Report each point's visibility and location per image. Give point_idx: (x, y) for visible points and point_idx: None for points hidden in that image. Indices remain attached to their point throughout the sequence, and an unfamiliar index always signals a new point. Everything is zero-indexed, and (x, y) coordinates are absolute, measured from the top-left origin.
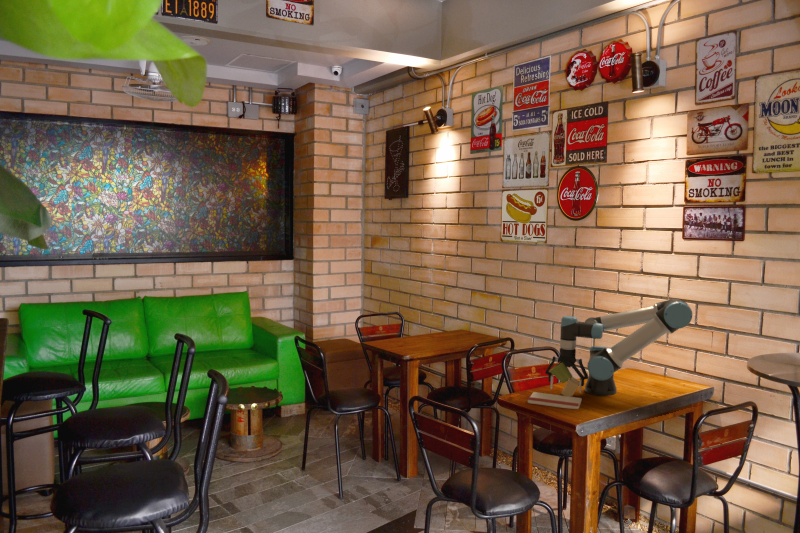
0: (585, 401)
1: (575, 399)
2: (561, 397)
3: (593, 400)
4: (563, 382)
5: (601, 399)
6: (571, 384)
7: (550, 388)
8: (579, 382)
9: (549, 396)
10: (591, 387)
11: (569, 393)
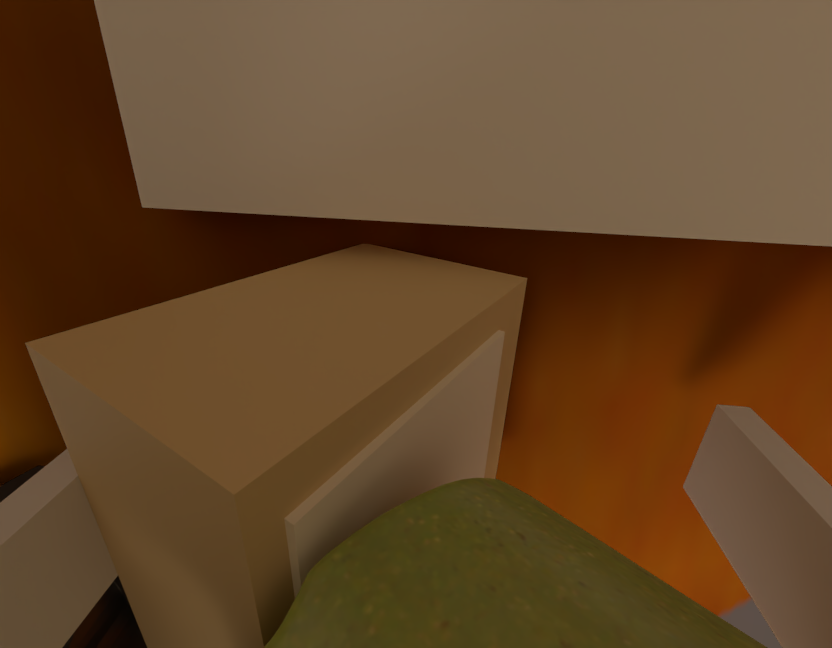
0: (128, 215)
1: (213, 52)
2: (510, 75)
3: (59, 310)
4: (510, 487)
5: (4, 386)
6: (233, 374)
7: (752, 415)
8: (136, 606)
9: (799, 36)
10: (130, 613)
11: (358, 275)
